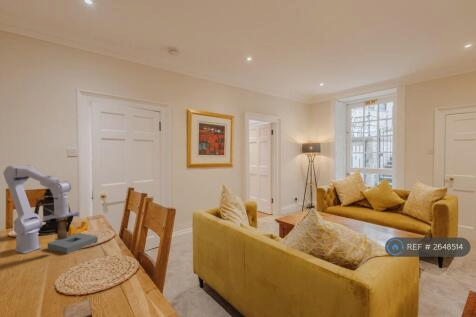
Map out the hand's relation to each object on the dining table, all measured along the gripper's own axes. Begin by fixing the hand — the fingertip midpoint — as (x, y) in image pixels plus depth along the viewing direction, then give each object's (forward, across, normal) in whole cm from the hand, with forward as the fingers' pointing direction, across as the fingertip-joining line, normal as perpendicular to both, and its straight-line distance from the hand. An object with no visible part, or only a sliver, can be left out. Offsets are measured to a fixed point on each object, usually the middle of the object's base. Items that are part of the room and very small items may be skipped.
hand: (62, 232), depth 115 cm
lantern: (+10, -5, +42) cm, 44 cm away
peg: (+3, 0, 0) cm, 3 cm away
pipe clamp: (+10, +7, +26) cm, 29 cm away
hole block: (+10, +5, +6) cm, 12 cm away
